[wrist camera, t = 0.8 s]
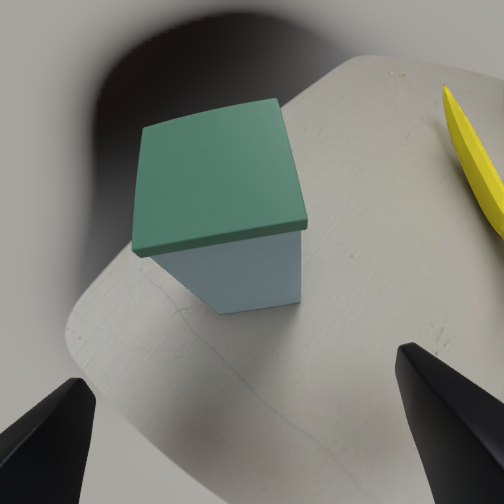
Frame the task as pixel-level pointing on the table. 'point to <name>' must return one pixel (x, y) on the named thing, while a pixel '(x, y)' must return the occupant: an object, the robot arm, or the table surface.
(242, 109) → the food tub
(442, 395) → the robot arm
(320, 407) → the table surface
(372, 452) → the table surface
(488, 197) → the banana
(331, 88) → the table surface
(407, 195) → the table surface
